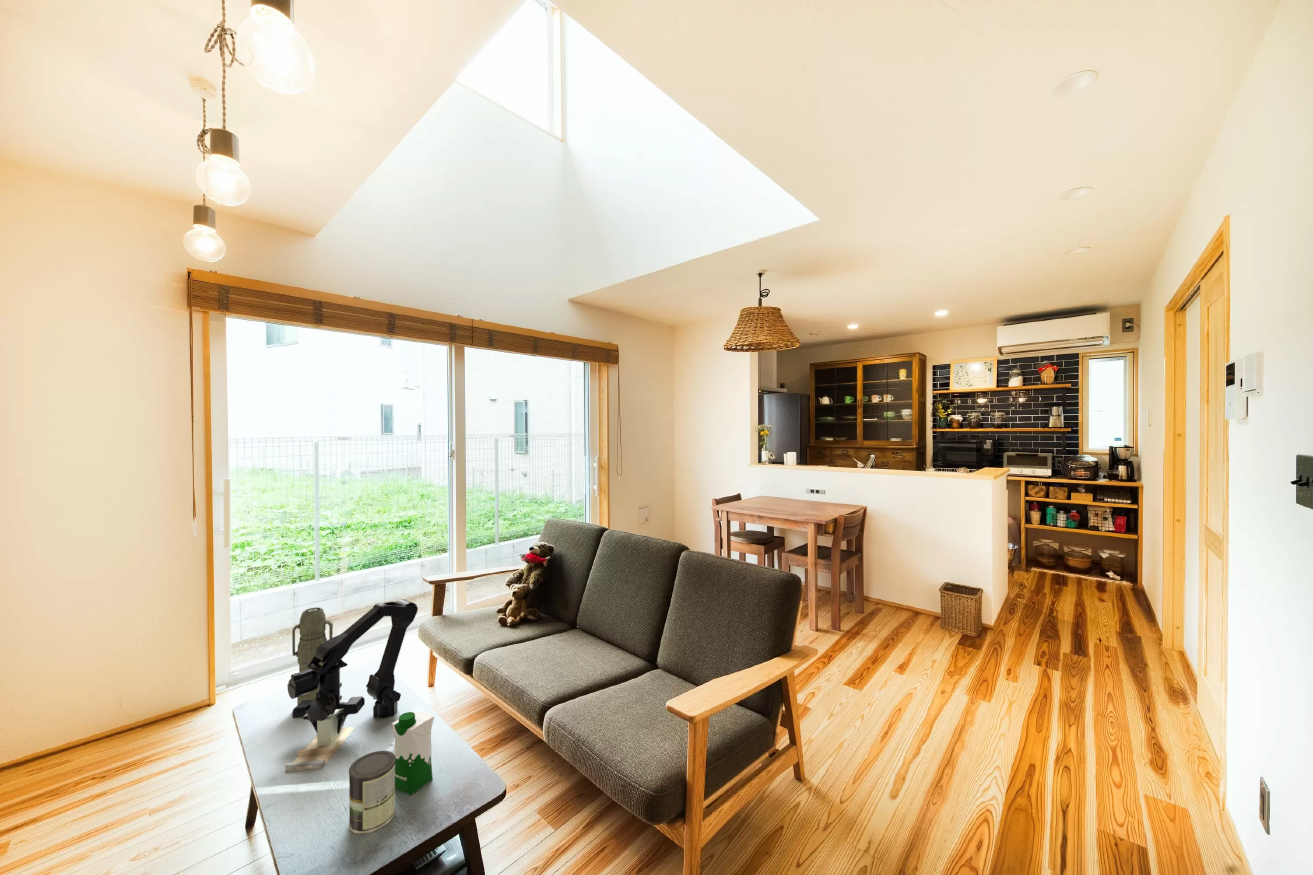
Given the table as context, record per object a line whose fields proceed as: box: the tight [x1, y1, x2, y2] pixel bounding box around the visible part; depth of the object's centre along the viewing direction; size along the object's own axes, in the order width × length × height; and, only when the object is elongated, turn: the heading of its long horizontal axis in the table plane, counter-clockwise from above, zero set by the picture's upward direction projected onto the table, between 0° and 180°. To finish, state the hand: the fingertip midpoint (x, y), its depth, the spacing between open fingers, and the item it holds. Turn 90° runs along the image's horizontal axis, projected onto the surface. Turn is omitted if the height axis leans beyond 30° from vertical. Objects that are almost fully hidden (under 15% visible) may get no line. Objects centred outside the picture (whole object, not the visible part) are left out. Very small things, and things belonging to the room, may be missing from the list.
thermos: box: [291, 607, 334, 706], centre depth 177 cm, size 9×12×35 cm
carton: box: [316, 709, 341, 746], centre depth 156 cm, size 4×6×8 cm
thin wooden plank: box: [285, 726, 356, 772], centre depth 153 cm, size 10×20×3 cm, turn 8°
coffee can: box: [348, 750, 396, 835], centre depth 127 cm, size 10×10×14 cm
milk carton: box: [391, 709, 435, 796], centre depth 139 cm, size 9×9×20 cm
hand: (329, 733), depth 157 cm, fingers open, 5 cm apart
